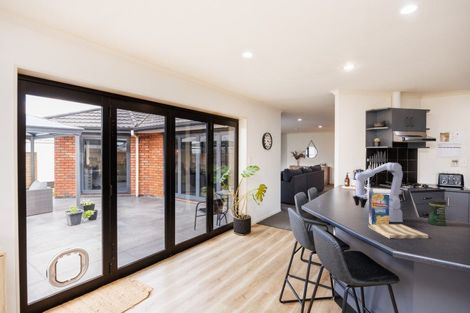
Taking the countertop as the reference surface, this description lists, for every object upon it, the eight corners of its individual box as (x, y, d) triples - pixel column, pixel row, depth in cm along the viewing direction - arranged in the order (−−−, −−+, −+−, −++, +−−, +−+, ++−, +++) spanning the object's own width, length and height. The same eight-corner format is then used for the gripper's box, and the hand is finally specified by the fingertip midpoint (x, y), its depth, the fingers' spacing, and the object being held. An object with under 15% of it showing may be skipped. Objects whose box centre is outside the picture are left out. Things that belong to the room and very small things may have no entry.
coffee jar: (432, 225, 171) (433, 199, 171) (426, 222, 179) (426, 197, 179) (448, 226, 169) (448, 200, 169) (440, 223, 177) (441, 198, 177)
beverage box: (389, 226, 168) (389, 194, 168) (371, 225, 170) (371, 193, 171) (385, 223, 174) (385, 193, 175) (368, 222, 177) (369, 192, 177)
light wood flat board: (402, 227, 166) (402, 224, 166) (428, 238, 145) (428, 235, 145) (368, 227, 165) (368, 224, 165) (389, 238, 144) (389, 235, 144)
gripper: (350, 187, 191) (349, 204, 191) (360, 190, 177) (360, 208, 177) (358, 187, 192) (358, 204, 192) (369, 190, 177) (369, 208, 177)
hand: (359, 206), depth 184 cm, fingers open, 7 cm apart
